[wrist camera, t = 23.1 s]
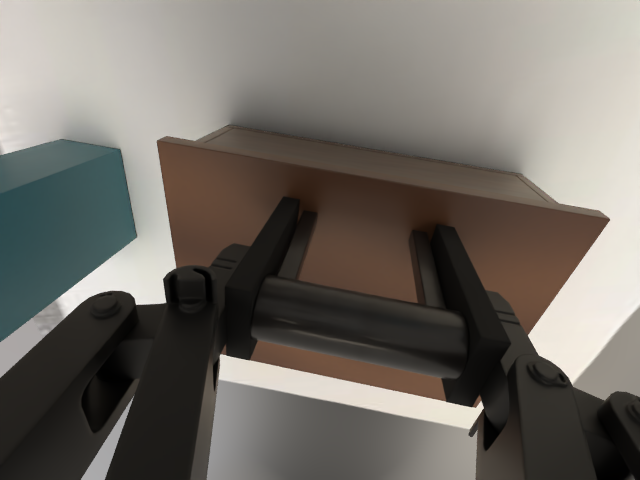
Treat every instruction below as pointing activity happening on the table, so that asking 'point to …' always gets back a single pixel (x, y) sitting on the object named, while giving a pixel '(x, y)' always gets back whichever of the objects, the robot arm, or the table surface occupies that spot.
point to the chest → (377, 161)
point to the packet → (57, 222)
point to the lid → (367, 259)
